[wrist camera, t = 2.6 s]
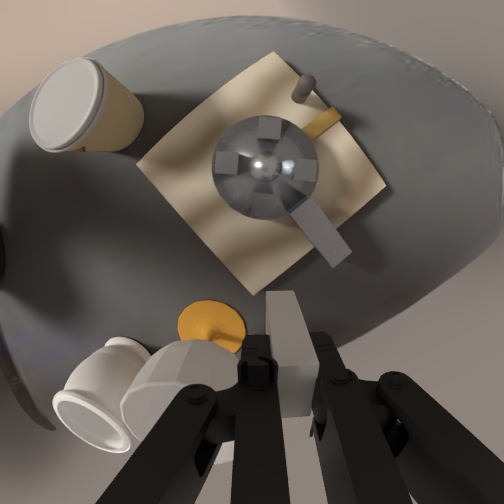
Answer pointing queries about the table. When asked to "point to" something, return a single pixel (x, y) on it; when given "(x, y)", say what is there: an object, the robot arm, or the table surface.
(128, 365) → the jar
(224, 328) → the cup
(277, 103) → the housing plate
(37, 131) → the coffee cup
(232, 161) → the grey notched machine part
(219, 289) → the table surface
